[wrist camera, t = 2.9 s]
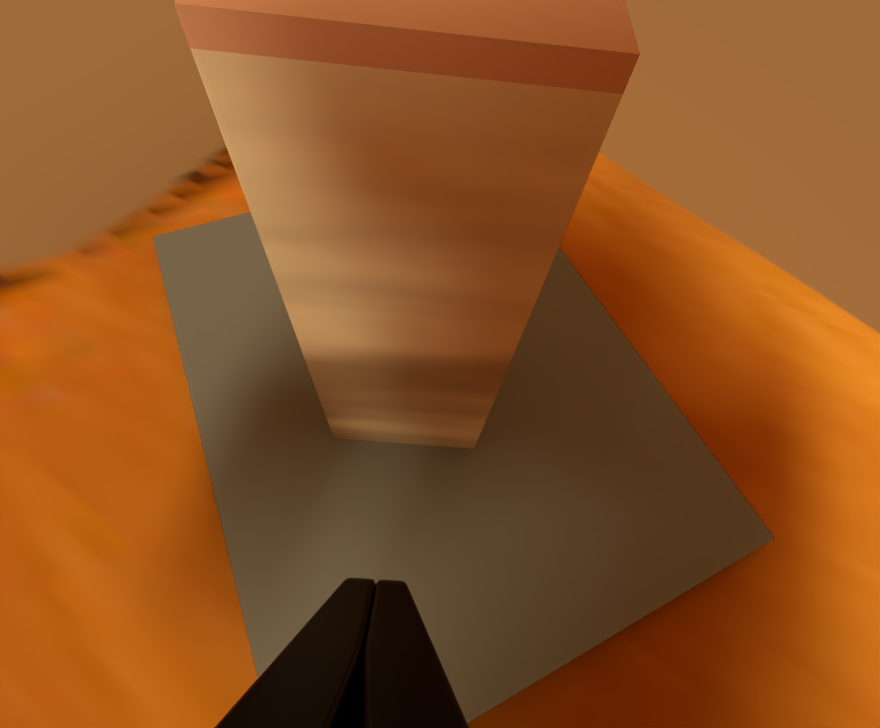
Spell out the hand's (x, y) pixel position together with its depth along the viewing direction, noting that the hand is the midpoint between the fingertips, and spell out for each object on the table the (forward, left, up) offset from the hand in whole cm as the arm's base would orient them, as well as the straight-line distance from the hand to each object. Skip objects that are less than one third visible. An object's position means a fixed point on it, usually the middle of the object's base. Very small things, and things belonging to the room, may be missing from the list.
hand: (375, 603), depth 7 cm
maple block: (+3, +6, -7) cm, 10 cm away
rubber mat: (+4, +6, -7) cm, 11 cm away
